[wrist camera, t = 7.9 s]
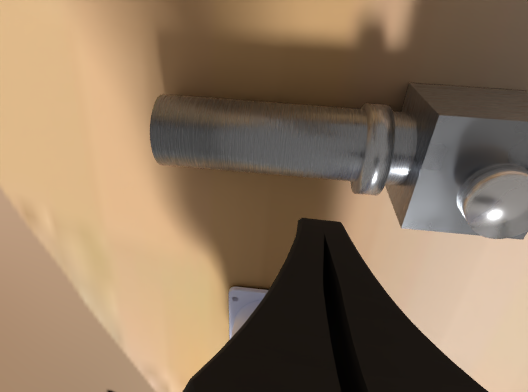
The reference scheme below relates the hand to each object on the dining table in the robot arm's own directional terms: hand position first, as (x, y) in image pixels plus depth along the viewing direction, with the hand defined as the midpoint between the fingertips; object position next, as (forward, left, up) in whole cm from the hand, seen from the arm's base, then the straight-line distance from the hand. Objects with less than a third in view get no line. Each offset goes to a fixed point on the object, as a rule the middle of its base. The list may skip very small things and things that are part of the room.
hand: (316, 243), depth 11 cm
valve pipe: (0, -7, -9) cm, 12 cm away
